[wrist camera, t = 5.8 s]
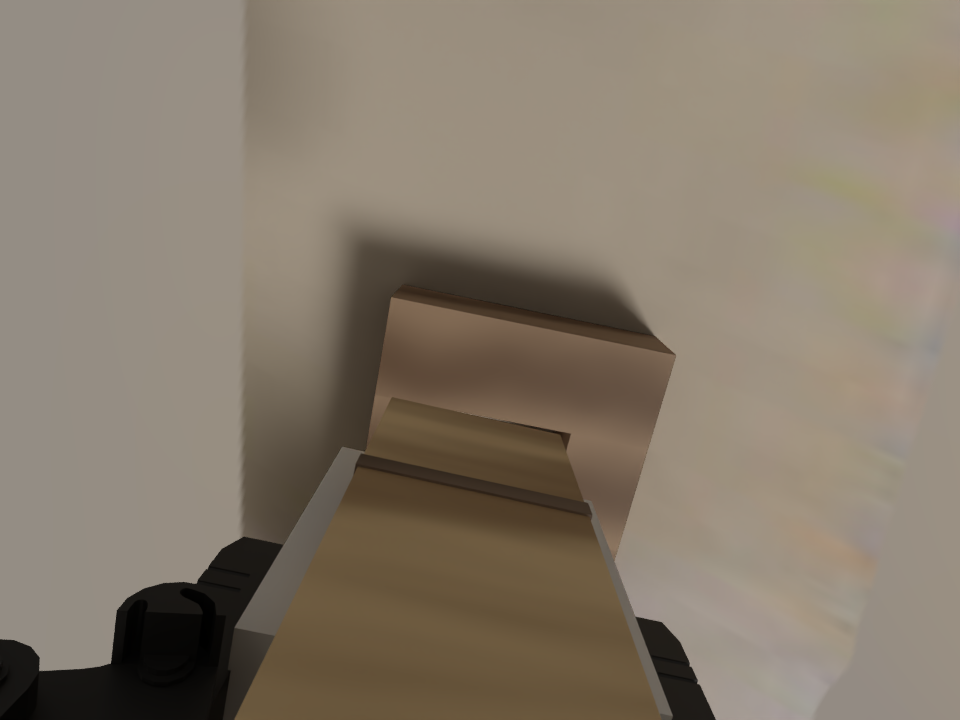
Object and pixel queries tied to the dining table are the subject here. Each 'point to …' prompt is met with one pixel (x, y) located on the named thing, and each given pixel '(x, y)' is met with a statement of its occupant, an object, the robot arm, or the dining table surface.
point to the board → (533, 383)
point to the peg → (455, 589)
